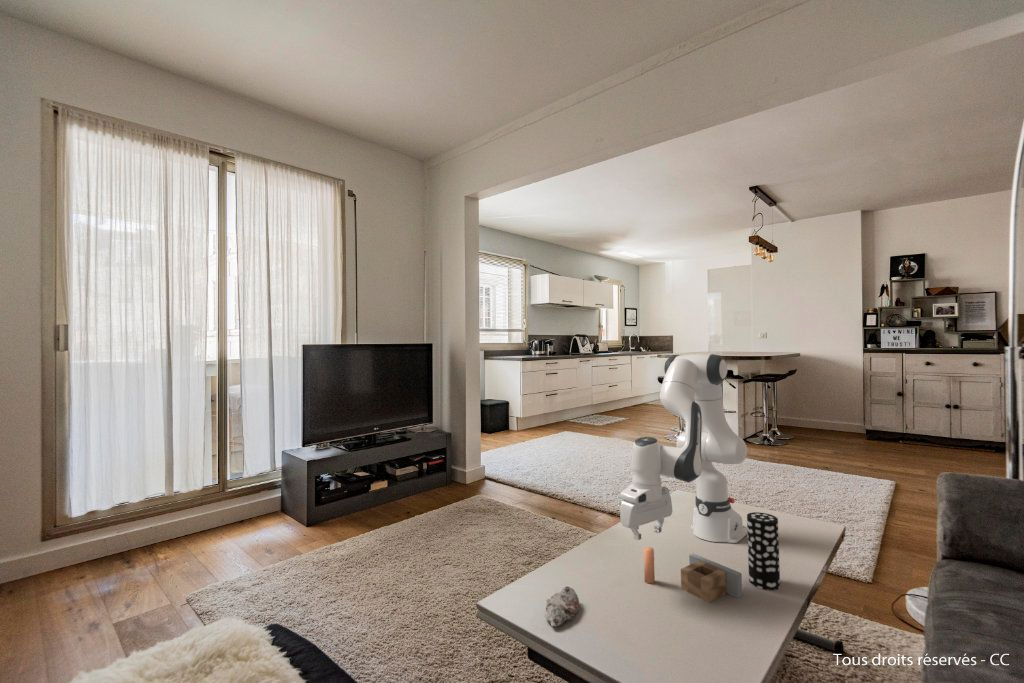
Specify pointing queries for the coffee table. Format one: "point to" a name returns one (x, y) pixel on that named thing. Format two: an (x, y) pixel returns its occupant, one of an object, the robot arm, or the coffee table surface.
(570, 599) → the mineral rock
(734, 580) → the slab
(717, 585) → the block
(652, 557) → the orange rounded capsule
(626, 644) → the coffee table surface
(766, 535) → the white-spotted black cylinder
